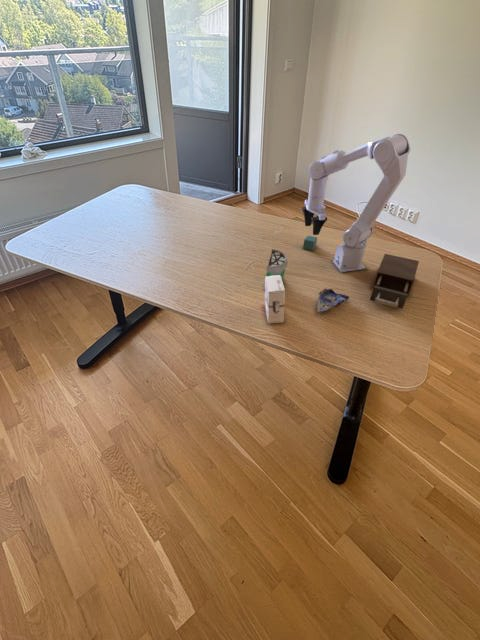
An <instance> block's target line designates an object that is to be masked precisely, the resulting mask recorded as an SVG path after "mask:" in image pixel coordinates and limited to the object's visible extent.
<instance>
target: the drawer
mask: <svg viewBox="0 0 480 640" xmlns="http://www.w3.org/2000/svg"><path fill="white" fill-rule="evenodd" d="M409 282H410V281H406V280H402V279H398V278H394V277H390V276H385V275H381V274H380V277H379V279H378V282H377V284H376V286H375V285H374V284H373V285H374V287H373V286H372V291H371V294H370V297H369V301H370V302H371V301H372V302H374V303H377V304H381V305H385V306H388V307H392V308H394V309H395V308H396V309H401V310H403V309H404V306H405V304H406V301H407V299H408V297H409V295H408V294H406V292H407V289H408V285H409ZM407 296H408V297H407Z"/></svg>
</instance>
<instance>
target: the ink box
mask: <svg viewBox="0 0 480 640" xmlns="http://www.w3.org/2000/svg"><path fill="white" fill-rule="evenodd" d="M285 301H286V289H285V285H284V280H283V281H282V278H281V276H280V275H275V276H267V275H266V276H264V309H265V310H264V311H265V315H266V318H267V324H281V323H284V320H285V303H286V302H285Z"/></svg>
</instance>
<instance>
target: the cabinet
mask: <svg viewBox="0 0 480 640" xmlns="http://www.w3.org/2000/svg"><path fill="white" fill-rule="evenodd" d="M419 263H420V261H419V260H416V259H411V258H407V257H402V256H397V255H394V254H389V253H384V255H383V257H382V259H381V262H380V264H379V267H378V269H377V272H376V274H375V278H374V281H373V285H372V288H373V287H374V285H375V286H376V284H377V282H378V279H379V277H380V274H381V275H385V276H390V277H394V278H398V279H402V280H406V281H410V282H409V285H408V289H407V292H406V294H408V296H407V298H409V295H410V292H411V290H412V287H413V285H414V282H415V278H416V274H417V271H418V266H419Z"/></svg>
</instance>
